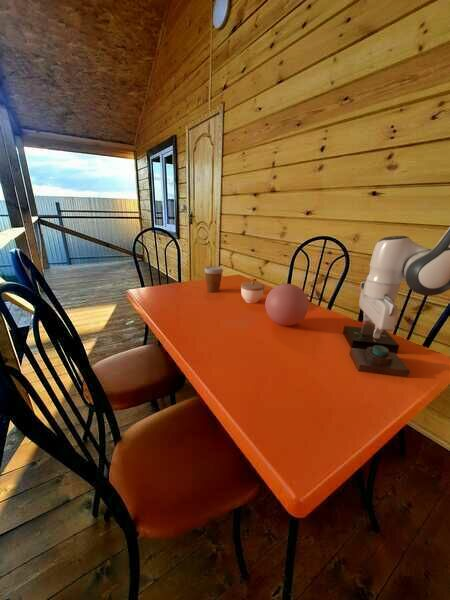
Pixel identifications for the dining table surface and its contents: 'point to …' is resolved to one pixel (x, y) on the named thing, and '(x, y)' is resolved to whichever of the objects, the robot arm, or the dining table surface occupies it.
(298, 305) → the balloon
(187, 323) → the dining table surface
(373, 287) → the robot arm
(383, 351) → the button
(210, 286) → the disposable coffee cup
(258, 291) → the trinket box
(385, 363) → the button block
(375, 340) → the panel
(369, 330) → the knob
